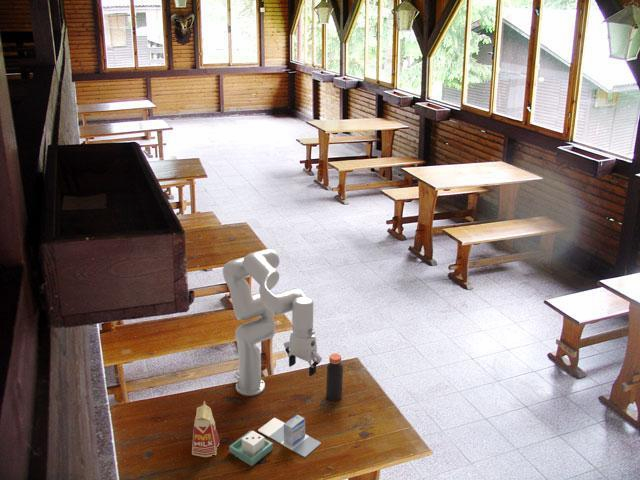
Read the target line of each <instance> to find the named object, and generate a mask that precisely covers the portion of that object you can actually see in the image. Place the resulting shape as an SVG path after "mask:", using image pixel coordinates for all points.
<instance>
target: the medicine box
mask: <svg viewBox="0 0 640 480" xmlns="http://www.w3.org/2000/svg"><path fill="white" fill-rule="evenodd" d="M284 423H285V424H284V442H285V443H287V444H289V445H290V446H294V445H295V444H296V443H297V442H298V441H300V440H301V439H302V438H303V437H305V434H306V418H305V417H303V416H301V415H299V414H296V415H294V416H293V417H291V418H290V419H289V420H287V421H286V422H284Z"/></svg>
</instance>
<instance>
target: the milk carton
mask: <svg viewBox="0 0 640 480" xmlns="http://www.w3.org/2000/svg"><path fill="white" fill-rule="evenodd" d="M195 413H196V415H195V418H194V423H193V431H192V432H193V433H192V445H191V446H192V447H191V455H193V456H197V457H202V458H208V457H213V456H212V455H215V456H217V455H218V453H217V452H218V448H217V447H219V445H220V443H221V442H220V437H219V434H218V431H217V428H216V421H215V419H214V416H213V412H212V409H211V407H210V406H208V405H207V404H206V401H205V400H204V401H203V404H202V405H200V406H198V407H196V412H195ZM219 442H220V443H219Z"/></svg>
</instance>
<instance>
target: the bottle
mask: <svg viewBox="0 0 640 480" xmlns="http://www.w3.org/2000/svg"><path fill="white" fill-rule="evenodd" d="M328 361H329V363H328V364H327V365H326V384H325V385H326V389H325V391H326V394H325V396H326V398H327V399H328V400H329V401H333V402H335V401H336V402H337V401H340V400H341V399H342V397H343V379H344V366H343V364H342V355H341V354H339V353H331V354H330V355H329V359H328Z"/></svg>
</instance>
